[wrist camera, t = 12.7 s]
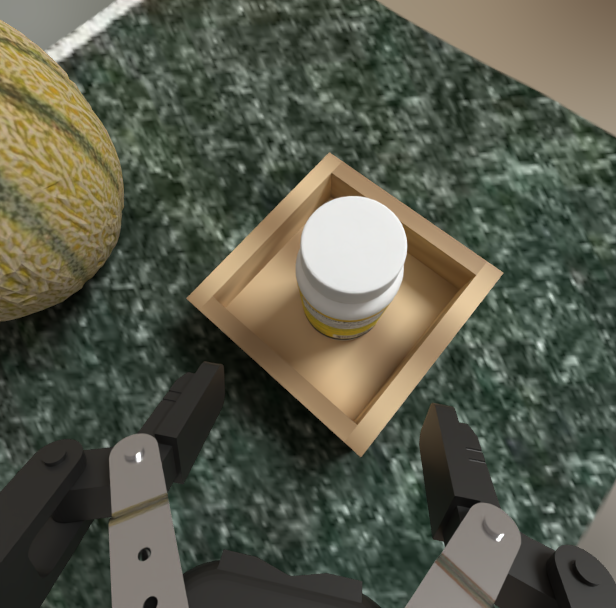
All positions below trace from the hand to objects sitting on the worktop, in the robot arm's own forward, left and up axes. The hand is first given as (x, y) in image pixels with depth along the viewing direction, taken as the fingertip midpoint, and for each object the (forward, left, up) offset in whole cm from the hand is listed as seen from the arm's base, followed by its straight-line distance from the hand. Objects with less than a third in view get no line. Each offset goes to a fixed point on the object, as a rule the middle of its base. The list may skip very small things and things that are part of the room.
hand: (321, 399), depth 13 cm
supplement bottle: (+5, +3, -6) cm, 9 cm away
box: (+5, +3, -7) cm, 9 cm away
